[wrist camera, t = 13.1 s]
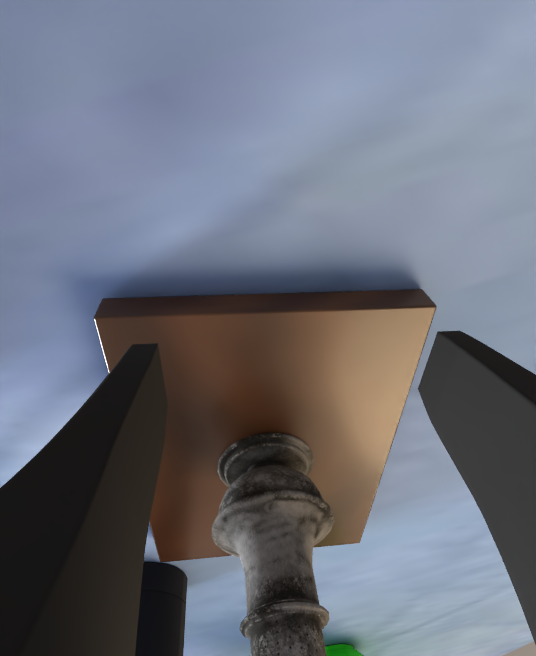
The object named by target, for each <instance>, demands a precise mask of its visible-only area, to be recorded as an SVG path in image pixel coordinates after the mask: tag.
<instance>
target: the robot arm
mask: <svg viewBox="0 0 536 656" xmlns="http://www.w3.org/2000/svg"><path fill="white" fill-rule="evenodd" d="M418 390H419V392H420V395H421V398H422V400H423V403H424V406H425V408H426V411H427V413H428V416H429V418H430V420H431V423H432V424H433V426H434V428H435V430H436V432H437V434H438V435H439V437H440V439H441V441H442V443H443V444H444V446H445V448H446V450H447V452H448V453H449V455H450V457H451V459H452V460H453V462H454V464H455V466H456V467H457V469H458V471H459V473H460V474H461V476H462V478H463V480H464V481H465V483H466V485H467V487H468V488H469V490H470V492H471V494H472V495H473V497H474V499H475V501H476V503H477V505H478V507H479V509H480V511H481V513H482V514H483V516H484V519H485V521H486V523H487V525H488V528H489V530H490V532H491V534H492V537H493V539H494V541H495V543H496V546H497V548H498V550H499V552H500V555H501V557H502V559H503V562H504V564H505V567H506V569H507V572H508V574H509V576H510V579H511V581H512V584H513V586H514V589H515V591H516V594H517V596H518V598H519V601H520V604H521V606H522V609H523V612H524V615H525V617H526V620H527V623H528V625H529V628H530V631H531V633H532V636H533V639H534V641H535V644H536V375H535V374H533V373H532V372H530V371H528V370H527V369H525V368H523V367H522V366H520V365H518V364H517V363H515V362H513V361H512V360H510V359H508V358H507V357H505V356H503V355H502V354H500V353H498V352H497V351H495V350H493V349H492V348H490V347H488V346H487V345H485V344H483V343H482V342H480V341H478V340H476V339H474V338H473V337H471V336H469V335H467V334H465V333H463V332H461V331H443V332H437V335H436V338H435V341H434V344H433V347H432V350H431V353H430V356H429V358H428V361H427V364H426V367H425V370H424V373H423V376H422V379H421V382H420V385H419V388H418ZM167 407H168V401H167V395H166V389H165V383H164V377H163V371H162V365H161V359H160V353H159V347H158V343H151V344H132V345H131V346H130V347H129V348H128V349H127V351H126V352H125V353H124V355H123V356H122V357H121V359H120V360H119V361H118V363H117V364H116V365H115V366H114V368H113V369H112V370H111V372H110V373H109V374H108V375H107V377H106V378H105V379H104V381H103V382H102V383H101V384H100V385H99V387H98V388H97V389H96V390H95V391H94V393H93V394H92V395H91V396H90V397H89V399H88V400H87V401H86V402H85V403H84V405H83V406H82V407H81V408H80V409H79V410H78V412H77V413H76V414H75V415H74V416H73V417H72V418H71V419H70V420H69V421H68V422H67V423H66V425H65V426H64V427H63V428H62V429H61V430H60V431H59V432H58V433H57V434H56V435H55V436H54V437H53V439H52V440H51V441H50V442H49V443H48V444H47V445H46V446H45V447H44V448H43V449H42V450H41V451H40V452H39V453H38V454H37V455H36V456H35V457H34V458H33V459H32V460H30V461H29V462H28V463H27V464H26V465H25V466H24V467H23V468H22V469H21V470H20V471H19V472H18V473H17V474H15V475H14V476H13V477H12V478H11V479H10V480H9V481H8V482H7V483H6V484H4V485H3V486H2V487H1V488H0V656H135V650H136V638H137V627H138V615H139V604H140V593H141V583H142V573H143V563H144V553H145V545H146V538H147V532H148V526H149V521H150V516H151V510H152V505H153V500H154V495H155V490H156V485H157V480H158V475H159V470H160V464H161V459H162V454H163V449H164V443H165V435H166V423H167Z"/></svg>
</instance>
